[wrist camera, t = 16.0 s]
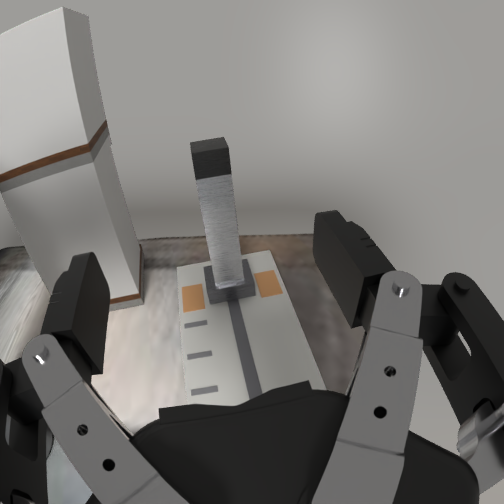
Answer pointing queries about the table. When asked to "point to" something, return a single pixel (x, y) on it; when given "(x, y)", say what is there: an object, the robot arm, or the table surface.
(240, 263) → the fader
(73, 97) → the display case
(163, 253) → the table surface
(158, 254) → the table surface
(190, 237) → the table surface
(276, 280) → the console
